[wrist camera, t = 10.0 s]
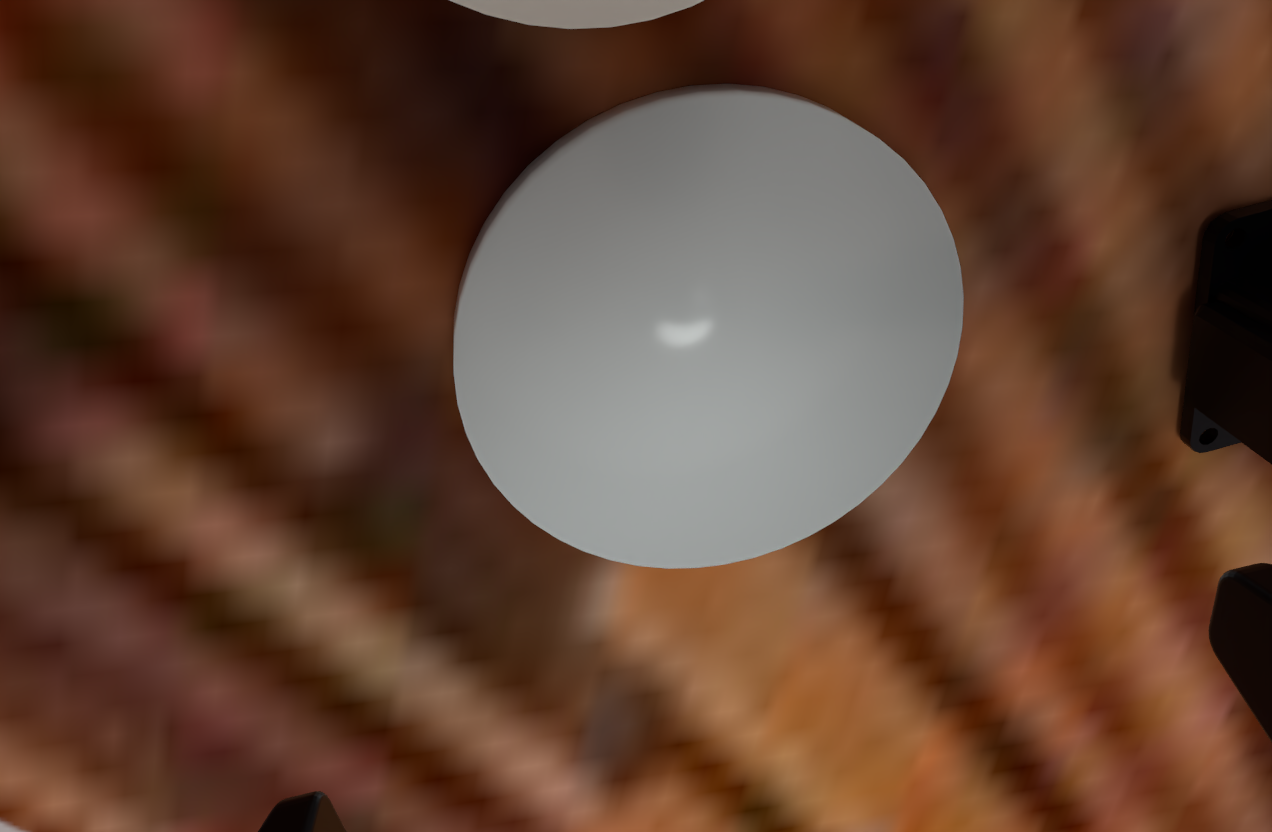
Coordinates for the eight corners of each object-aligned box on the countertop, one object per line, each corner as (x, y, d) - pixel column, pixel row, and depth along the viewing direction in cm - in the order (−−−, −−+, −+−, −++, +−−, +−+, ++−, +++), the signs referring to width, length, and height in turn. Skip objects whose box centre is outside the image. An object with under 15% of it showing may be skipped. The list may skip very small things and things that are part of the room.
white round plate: (928, 21, 18) (956, 30, 17) (947, 470, 24) (969, 497, 23) (377, 164, 18) (373, 183, 17) (530, 586, 24) (534, 619, 23)
